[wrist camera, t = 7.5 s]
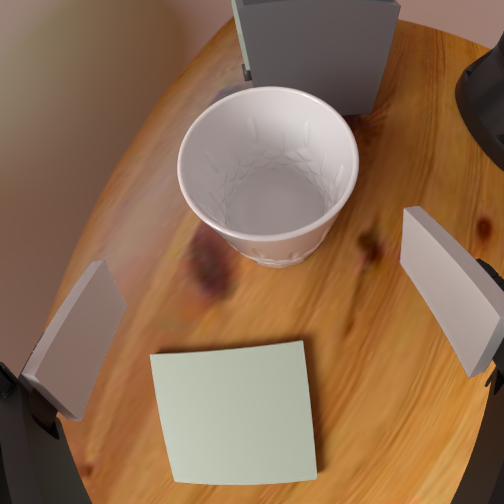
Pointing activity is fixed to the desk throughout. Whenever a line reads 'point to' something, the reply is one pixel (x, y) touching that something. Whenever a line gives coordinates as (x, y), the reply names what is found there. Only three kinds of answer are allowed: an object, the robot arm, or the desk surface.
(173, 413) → the coaster
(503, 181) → the desk surface
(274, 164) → the white cup
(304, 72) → the block
